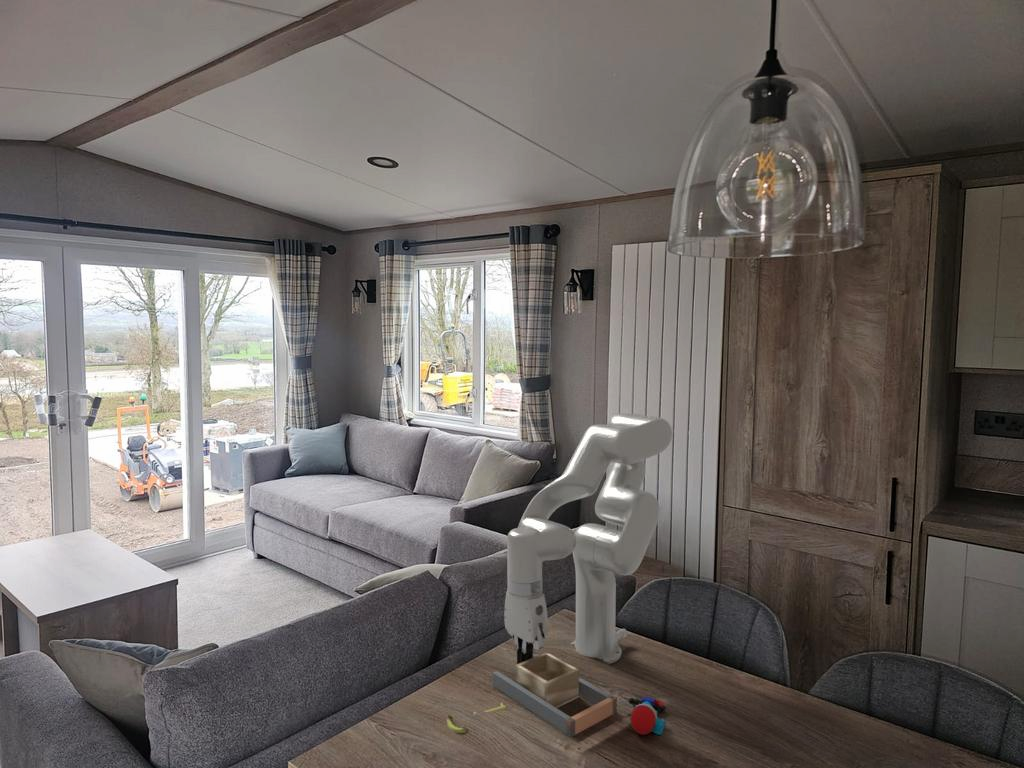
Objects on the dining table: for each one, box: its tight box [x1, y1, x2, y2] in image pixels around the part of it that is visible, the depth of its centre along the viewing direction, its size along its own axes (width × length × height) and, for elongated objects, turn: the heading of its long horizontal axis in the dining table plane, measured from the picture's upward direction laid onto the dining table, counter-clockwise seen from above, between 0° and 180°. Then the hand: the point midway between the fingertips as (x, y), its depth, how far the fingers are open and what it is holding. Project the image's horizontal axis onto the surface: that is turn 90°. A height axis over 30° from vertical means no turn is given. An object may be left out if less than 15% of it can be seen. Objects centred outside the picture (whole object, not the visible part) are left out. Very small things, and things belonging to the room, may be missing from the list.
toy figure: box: [628, 696, 666, 735], centre depth 135 cm, size 8×5×15 cm
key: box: [446, 702, 507, 734], centre depth 137 cm, size 7×12×2 cm, turn 127°
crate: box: [514, 652, 580, 709], centre depth 142 cm, size 10×9×6 cm
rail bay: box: [492, 653, 618, 738], centre depth 141 cm, size 24×13×4 cm, turn 40°
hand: (524, 666), depth 148 cm, fingers closed
